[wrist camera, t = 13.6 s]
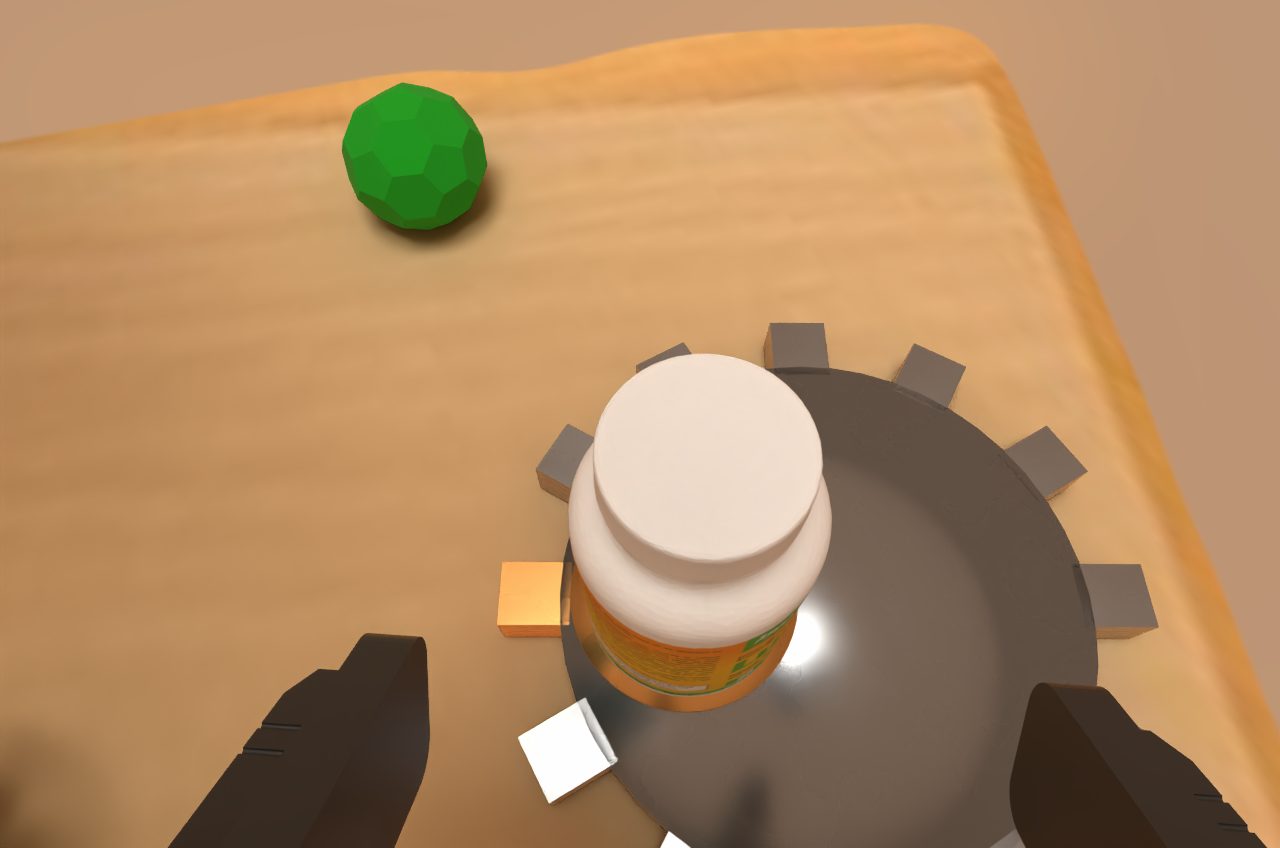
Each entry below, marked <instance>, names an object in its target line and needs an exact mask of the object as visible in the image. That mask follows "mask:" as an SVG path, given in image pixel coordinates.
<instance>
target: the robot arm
mask: <svg viewBox="0 0 1280 848" xmlns="http://www.w3.org/2000/svg"><path fill="white" fill-rule="evenodd" d="M429 741H430V725H429V698H428V671H427V649H426V644H425V641H424V639H423V638H422V637H416V636H401V635H387V634H373V633H366V634H364V635H363V636H362V637H361V638H360V640H359V641H358V642H357V644H356V645H355V647H354V648H353V650H352V651H351V653H350V654H349V656H348V657H347V659H346V660H345V662H344V663H343V665H342V666H341V668H340V669H339V670H326V669H318V670H317V671H315V672H314V673H312V674H311V675H309V676H308V677H306V678H305V679H304V680H302V681H301V682H299V683H298V684H296V685H295V686H293V687H292V688H291V689H289V690H288V691H286V692H285V693H284V694H283V695H282V696H281V698H280V699H279V700H278V702H277V703H276V704H275V706H274V707H273V708H272V710H271V711H270V712H269V714H268V715H267V716H266V718H265V719H264V720H263V722H262V726H261V729H260V728H257V730H256V731H255V732H254V734H253V735H252V736H251V738H250V739H249V740H248V742H247V743H246V744H245V746H244V747H243V752H242V754H238V755H237V756H236V758H235V759H234V760H233V762H232V763H231V764H230V766H229V767H228V768H227V770H226V771H225V772H224V774H223V775H222V776H221V778H220V779H219V780H218V782H217V783H216V784H215V786H214V787H213V788H212V790H211V791H210V792H209V794H208V795H207V796H206V798H205V799H204V800H203V802H202V803H201V804H200V806H199V807H198V808H197V810H196V811H195V812H194V814H193V815H192V816H191V818H190V819H189V820H188V822H187V823H186V824H185V826H184V827H183V828H182V830H181V831H180V832H179V834H178V835H177V836H176V838H175V839H174V840H173V842H172V843H171V844H170V845H169V847H168V848H394V847H395V845H396V842H397V840H398V837H399V835H400V833H401V830H402V828H403V825H404V823H405V821H406V818H407V816H408V814H409V811H410V809H411V806H412V804H413V802H414V799H415V797H416V794H417V792H418V790H419V787H420V785H421V782H422V779H423V776H424V772H425V768H426V763H427V758H428V751H429ZM1009 796H1010V806H1011V812H1012V817H1013V820H1014V824H1015V827H1016V829H1017V832H1018V834H1019V836H1020V838H1021V840H1022V842H1023V844H1024V846H1025V848H1267V847H1266V846H1265V845H1264V844H1263V842H1262V841H1261V840H1260V839H1259V838H1258V837H1257V835H1256V834H1255V833H1249V831H1248V828H1247V826H1248V825H1247V824H1246V823H1245V822H1244V820H1243V819H1242V818H1241V817H1240V816H1239V815H1238V814H1237V812H1236V811H1235V810H1234V809H1233V808H1232V807H1231V805H1230V804H1229V803H1224V802H1223V800H1222V795H1221V794H1220V793H1219V792H1218V790H1217V789H1216V788H1215V787H1214V786H1213V785H1212V783H1211V782H1210V781H1209V780H1208V779H1207V778H1206V777H1205V775H1204V774H1203V773H1202V772H1201V771H1200V770H1199V768H1198V767H1197V766H1196V765H1195V764H1194V763H1193V762H1192V761H1191V760H1190V759H1189V758H1187V757H1186V756H1184V755H1183V754H1182V753H1180V752H1179V751H1177V750H1176V749H1175V748H1173V747H1172V746H1171V745H1169V744H1168V743H1166V742H1165V741H1164V740H1162V739H1161V738H1159V737H1158V736H1157V735H1155V734H1154V733H1153V732H1151V731H1147V730H1140V729H1139V727H1138V726H1137V725H1136V724H1135V722H1134V721H1133V720H1132V719H1131V718H1130V716H1129V715H1128V714H1127V713H1126V712H1125V710H1124V709H1123V708H1122V707H1121V705H1120V704H1119V703H1118V702H1117V701H1116V699H1115V698H1114V697H1113V696H1112V695H1111V693H1110V692H1109V691H1108V690H1106V689H1105V688H1103V687H1100V686H1086V685H1072V684H1058V683H1042V682H1041V683H1038V684H1037V685H1036V686H1035V687H1034V688H1033V690H1032V692H1031V694H1030V698H1029V701H1028V706H1027V710H1026V714H1025V718H1024V723H1023V727H1022V731H1021V735H1020V739H1019V744H1018V748H1017V752H1016V756H1015V760H1014V765H1013V769H1012V773H1011V778H1010V786H1009Z"/></svg>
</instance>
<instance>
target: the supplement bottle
mask: <svg viewBox="0 0 1280 848" xmlns="http://www.w3.org/2000/svg"><path fill="white" fill-rule="evenodd" d="M822 469H823V459H822V448H821V441H820V438H819V434H818V431H817V428H816V426H815V423H814V421H813V419H812V417H811V415H810V413H809V411H808V410H807V408H806V407H805V405H804V404H803V402H802V401H801V399H800V398H799V397H798V396H797V395H796V394H795V393H794V392H793V391H792V390H791V389H790V388H789V387H788V386H787V385H786V384H785V383H784V382H783V381H781V380H780V379H779V378H778V377H776V376H775V375H774V374H772V373H770V372H769V371H767V370H765V369H764V368H761V367H759V366H757V365H755V364H753V363H750V362H748V361H745V360H742V359H739V358H735V357H731V356H725V355H717V354H691V355H684V356H677V357H673V358H669V359H666V360H663V361H660V362H658V363H655V364H653V365H651V366H649V367H647V368H645V369H643V370H642V371H640V372H639V373H637V374H635V375H634V376H633V377H632V378H631V379H629V380H628V381H627V382H626V383H625V384H624V385H622V387H621V388H620V389H619V390H618V391H617V392H616V393H615V394H614V395H613V397H612V398H611V400H610V401H609V403H608V404H607V406H606V407H605V409H604V411H603V413H602V415H601V417H600V420H599V423H598V425H597V428H596V431H595V436H594V442H593V443H592V445H591V446H590V448H589V449H588V451H587V452H586V454H585V455H584V457H583V459H582V461H581V463H580V465H579V467H578V469H577V472H576V475H575V477H574V480H573V484H572V488H571V493H570V498H569V506H568V523H569V535H570V542H571V548H572V554H573V559H574V562H575V564H576V568H577V573H578V576H579V579H580V583H581V586H582V590H583V593H584V597H585V601H586V605H587V609H588V613H589V617H590V621H591V624H592V627H593V630H594V632H595V635H596V637H597V639H598V641H599V643H600V645H601V647H602V649H603V650H604V652H605V653H606V655H607V656H608V657H609V659H610V660H611V661H612V662H613V664H614V665H615V666H616V667H617V668H618V669H620V670H621V671H622V672H623V673H624V674H625V675H626V676H628V677H629V678H630V679H632V680H633V681H635V682H636V683H638V684H640V685H642V686H644V687H646V688H648V689H650V690H653V691H655V692H659V693H662V694H666V695H671V696H679V697H697V696H705V695H710V694H714V693H718V692H720V691H723V690H726V689H728V688H730V687H732V686H734V685H736V684H738V683H739V682H741V681H742V680H744V679H745V678H746V677H748V676H749V675H750V674H751V673H752V672H753V671H755V670H756V669H757V668H758V667H759V666H760V664H761V663H762V662H763V661H764V660H765V659H766V657H767V656H768V655H769V653H770V652H771V650H772V649H773V647H774V646H775V644H776V642H777V641H778V639H779V638H780V636H781V635H782V633H783V631H784V630H785V628H786V627H787V625H788V623H789V622H790V620H791V619H792V618H793V616H794V615H795V613H796V612H797V610H798V609H799V607H800V605H801V604H802V602H803V601H804V600H805V598H806V597H807V595H808V594H809V592H810V590H811V589H812V587H813V586H814V584H815V582H816V580H817V578H818V576H819V574H820V572H821V569H822V567H823V564H824V562H825V559H826V556H827V552H828V549H829V543H830V537H831V526H832V513H831V506H830V499H829V494H828V490H827V486H826V483H825V480H824V477H823V475H822Z"/></svg>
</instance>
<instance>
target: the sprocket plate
mask: <svg viewBox="0 0 1280 848" xmlns="http://www.w3.org/2000/svg"><path fill="white" fill-rule="evenodd" d="M684 355H691V352H690V351H689V350H688V348H687V347H686V345H685V344H684V342H683V343H681V344H679V345H677V346H675V347H673V348H671V349H669V350H667V351H665V352H663V353H661V354H658V355H656V356H654V357H652V358H650V359H648V360H646V361H644V362H642V363H640V364H638V365H636V374H637V373H639V372H640V371H642V370H643V369H645V368H647V367H649V366H651V365H653V364H655V363H658V362H660V361H663V360H666V359H669V358H673V357H677V356H684ZM764 358H765V370H767V371H769V372H770V373H772V374H774V375H775V376H776V377H778V378H779V379H780V380H781V381H783V382H784V383H785V384H786V385H787V386H788V387H789V388H790V389H791V390H792V391H793V392H794V393H795V394H796V395H797V396H798V397H799V398H800V399H801V401H802V402H803V404H804V405H805V407H806V408H807V410H808V411H809V413H810V415H811V417H812V419H813V421H814V423H815V426H816V428H817V431H818V434H819V438H820V441H821V448H822V459H823V469H822V475H823V477H824V480H825V483H826V486H827V490H828V494H829V499H830V506H831V513H832V526H831V537H830V543H829V549H828V552H827V556H826V559H825V562H824V564H823V567H822V569H821V572H820V574H819V576H818V578H817V580H816V582H815V584H814V586H813V587H812V589H811V590H810V592H809V594H808V595H807V597H806V598H805V600H804V601H803V602H802V604H801V605H800V607H799V609H798V610H797V612H796V613H795V615H794V616H793V618H792V619H791V620H790V622H789V623H788V625H787V627H786V628H785V630H784V631H783V633H782V635H781V636H780V638H779V639H778V641H777V642H776V644H775V646H774V647H773V649H772V650H771V652H770V653H769V655H768V656H767V657H766V659H765V660H764V661H763V662H762V663H761V664H760V666H759V667H758V668H757V669H756V670H755V671H753V672H752V673H751V674H750V675H749V676H748V677H746V678H745V679H744V680H742V681H741V682H739V683H738V684H736V685H734V686H732V687H730V688H728V689H726V690H723V691H720V692H718V693H714V694H710V695H705V696H697V697H679V696H671V695H666V694H662V693H659V692H655V691H653V690H650V689H648V688H646V687H644V686H642V685H640V684H638V683H636V682H635V681H633V680H632V679H630V678H629V677H628V676H626V675H625V674H624V673H623V672H622V671H621V670H620V669H618V668H617V667H616V666H615V665H614V664H613V662H612V661H611V660H610V659H609V657H608V656H607V655H606V653H605V652H604V650H603V649H602V647H601V645H600V643H599V641H598V639H597V637H596V635H595V632H594V630H593V627H592V624H591V621H590V617H589V613H588V609H587V605H586V601H585V597H584V593H583V590H582V586H581V583H580V579H579V576H578V573H577V568H576V564H575V562H574V559H573V554H572V548H571V542H570V537H569V541H568V545H567V549H566V553H565V556H564V561H563V562H502V572H501V584H500V596H499V608H498V620H497V625H498V627H499V628H500V630H501V631H502V633H503V634H504V636H510V637H562V641H563V648H564V655H565V662H566V666H567V669H568V673H569V676H570V680H571V683H572V687H573V690H574V694H575V697H576V700H577V703H575V704H573V705H572V706H570V707H568V708H567V709H565V710H563V711H562V712H560V713H558V714H556V715H555V716H553V717H551V718H550V719H548V720H546V721H545V722H543V723H541V724H539V725H538V726H536V727H534V728H533V729H531V730H529V731H528V732H526V733H524V734H522V735H521V736H519V737H518V739H519V741H520V743H521V746H522V748H523V750H524V752H525V754H526V756H527V758H528V760H529V763H530V765H531V767H532V769H533V771H534V773H535V775H536V777H537V779H538V782H539V784H540V786H541V788H542V790H543V792H544V794H545V796H546V799H547V801H548V803H549V804H552V805H556V804H557V803H559V802H560V801H562V800H564V799H565V798H567V797H568V796H570V795H572V794H573V793H575V792H577V791H578V790H580V789H581V788H583V787H585V786H586V785H588V784H590V783H591V782H593V781H594V780H596V779H598V778H599V777H601V776H602V775H604V774H606V773H607V772H609V771H611V770H612V771H613V773H614V774H615V776H616V777H617V778H618V779H619V781H620V782H621V783H622V784H623V786H624V787H625V788H626V789H627V791H628V792H629V793H630V795H631V796H632V797H633V798H634V800H635V801H636V802H637V803H638V804H639V805H640V806H641V807H642V808H643V809H644V810H645V811H646V812H647V813H648V814H649V815H650V816H651V817H652V818H653V819H654V820H655V821H656V822H657V823H658V824H659V825H660V826H661V827H662V828H663V829H664V830H666V831H667V832H666V834H665V836H664V838H663V840H662V842H661V844H660V846H659V848H1025V846H1024V844H1023V842H1022V840H1021V838H1020V836H1019V834H1018V832H1017V829H1016V827H1015V824H1014V820H1013V817H1012V812H1011V806H1010V796H1009V786H1010V778H1011V773H1012V769H1013V765H1014V760H1015V756H1016V752H1017V748H1018V744H1019V739H1020V735H1021V731H1022V727H1023V723H1024V718H1025V714H1026V710H1027V706H1028V701H1029V698H1030V694H1031V692H1032V690H1033V688H1034V687H1035V686H1036V685H1037V684H1038V683H1041V682H1042V683H1058V684H1072V685H1086V686H1097V674H1098V653H1097V639H1130V638H1132V637H1135V636H1138V635H1140V634H1143V633H1145V632H1148V631H1150V630H1153V629H1155V628H1158V623H1157V620H1156V616H1155V613H1154V609H1153V606H1152V602H1151V599H1150V596H1149V592H1148V589H1147V585H1146V582H1145V578H1144V575H1143V572H1142V568H1141V565H1140V564H1079V561H1078V559H1077V557H1076V555H1075V552H1074V550H1073V548H1072V546H1071V544H1070V541H1069V539H1068V537H1067V535H1066V533H1065V531H1064V529H1063V527H1062V525H1061V524H1060V522H1059V520H1058V519H1057V517H1056V516H1055V514H1054V512H1053V511H1052V509H1051V507H1050V506H1049V504H1048V502H1047V500H1049V499H1051V498H1052V497H1054V496H1056V495H1057V494H1059V493H1060V492H1062V491H1064V490H1065V489H1066V488H1068V487H1069V486H1070V485H1071V484H1073V483H1074V482H1075V481H1076V480H1078V479H1079V478H1080V477H1081V476H1083V475H1084V474H1085V473H1086V472H1088V471H1087V470H1086V469H1085V468H1084V467H1083V465H1082V464H1081V463H1080V462H1079V461H1078V460H1077V459H1076V458H1075V457H1074V455H1073V454H1072V453H1071V452H1070V451H1069V450H1068V449H1067V448H1066V447H1065V445H1064V444H1063V443H1062V442H1061V441H1060V440H1059V439H1058V438H1057V437H1056V435H1055V434H1054V433H1053V432H1052V431H1051V430H1050V429H1049V428H1048V427H1047V426H1045V427H1044V428H1042V429H1040V430H1038V431H1037V432H1035V433H1033V434H1032V435H1030V436H1028V437H1027V438H1025V439H1023V440H1021V441H1020V442H1018V443H1016V444H1015V445H1013V446H1011V447H1010V448H1008V449H1006V450H1005V451H1004V450H1003V449H1002V448H1000V447H999V446H998V445H997V444H996V443H994V442H993V441H992V440H991V439H990V438H989V437H987V436H986V435H985V434H984V433H983V432H981V431H980V430H979V429H978V428H977V427H975V426H974V425H972V424H971V423H969V422H968V421H966V420H965V419H963V418H962V417H960V416H959V415H957V414H956V413H954V412H953V411H952V410H950V409H948V408H947V407H948V405H949V403H950V401H951V399H952V397H953V394H954V392H955V390H956V388H957V386H958V384H959V381H960V379H961V377H962V375H963V373H964V370H965V368H966V367H965V366H963V365H961V364H959V363H956V362H954V361H952V360H950V359H948V358H945V357H943V356H941V355H939V354H937V353H934V352H932V351H930V350H928V349H925V348H923V347H921V346H919V345H917V344H913V346H912V348H911V350H910V351H909V353H908V355H907V357H906V359H905V360H904V362H903V364H902V366H901V367H900V369H899V371H898V373H897V375H896V377H895V379H894V381H893V382H889V381H886V380H882V379H879V378H875V377H872V376H868V375H865V374H861V373H855V372H849V371H844V370H838V369H832V368H829V363H828V355H827V347H826V339H825V330H824V323H770V325H769V329H768V332H767V336H766V340H765V344H764ZM593 442H594V437H592V436H590V435H588V434H586V433H584V432H582V431H581V430H579V429H577V428H575V427H573V426H571V425H569V424H567V425H566V427H565V428H564V430H563V431H562V432H561V434H560V435H559V437H558V438H557V440H556V441H555V442H554V444H553V445H552V447H551V448H550V450H549V451H548V452H547V454H546V455H545V457H544V458H543V460H542V461H541V462H540V464H539V465H538V467H537V468H536V472H537V475H538V479H539V482H540V486H541V488H542V489H544V490H546V491H547V492H549V493H551V494H553V495H555V496H556V497H558V498H560V499H562V500H564V501H565V502H567V503H569V498H570V493H571V488H572V484H573V480H574V477H575V475H576V472H577V469H578V467H579V465H580V463H581V461H582V459H583V457H584V455H585V454H586V452H587V451H588V449H589V448H590V446H591V445H592V443H593ZM1139 729H1140V730H1143V729H1141V728H1139Z"/></svg>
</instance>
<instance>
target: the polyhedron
mask: <svg viewBox="0 0 1280 848" xmlns="http://www.w3.org/2000/svg"><path fill="white" fill-rule="evenodd" d="M342 153H343V157H344V161H345V165H346V168H347V172H348V176H349V180H350V182H351V184H352V187H353V189H354V191H355V193H356V196H357V198H358V200H359V201H361V202H362V203H363V204H364V205H365V206H366V207H367V208H369V209H370V210H371V211H372V212H373V213H374V214H376V215H377V216H378V217H379V218H380V219H383V220H385V221H387V222H389V223H392V224H394V225H396V226H398V227H401V228H407V229H423V230H430V229H433V228H436V227H439V226H442V225H445V224H448V223H450V222H451V221H453V220H454V219H456V218H457V217H459V216H460V215H462V214H463V213H464V212H466V211H467V210H469V209H470V208H471V205H472V203H473V201H474V199H475V196H476V194H477V192H478V189H479V187H480V184H481V182H482V179H483V176H484V173H485V170H486V167H487V161H486V155H485V149H484V143H483V137H482V135H481V134H480V132H479V130H478V128H477V127H476V125H475V123H474V121H473V119H472V118H471V117H470V116H469V115H468V113H467V112H466V111H465V110H464V109H463V108H462V107H461V106H460V105H459V103H458V102H457V101H456V100H455V99H454V98H453V97H452V96H449V95H447V94H444V93H442V92H439V91H437V90H434V89H432V88H428V87H423V86H418V85H412V84H407V83H400V84H398V85H396V86H394V87H392V88H390V89H388V90H385V91H383V92H381V93H380V94H378V95H376V96H375V97H373V98H371V99H370V100H368V101H366V102H365V103H363V104H361V105H360V106H358V107H357V108H356V109H355V110H354V112H353V114H352V117H351V120H350V123H349V125H348V128H347V131H346V133H345V136H344V139H343V146H342Z"/></svg>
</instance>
